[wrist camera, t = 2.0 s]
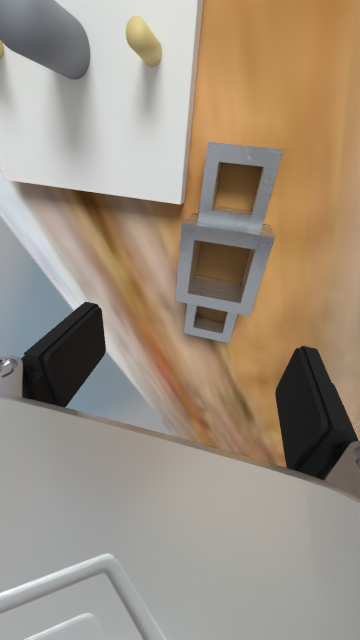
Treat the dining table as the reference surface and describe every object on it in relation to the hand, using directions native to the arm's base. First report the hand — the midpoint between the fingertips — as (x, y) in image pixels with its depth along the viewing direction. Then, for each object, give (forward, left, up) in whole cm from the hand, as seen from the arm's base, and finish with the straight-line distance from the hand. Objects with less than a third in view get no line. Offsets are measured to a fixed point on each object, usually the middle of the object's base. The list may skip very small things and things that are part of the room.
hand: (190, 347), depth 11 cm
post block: (+12, -12, -13) cm, 21 cm away
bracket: (0, 0, -13) cm, 13 cm away
